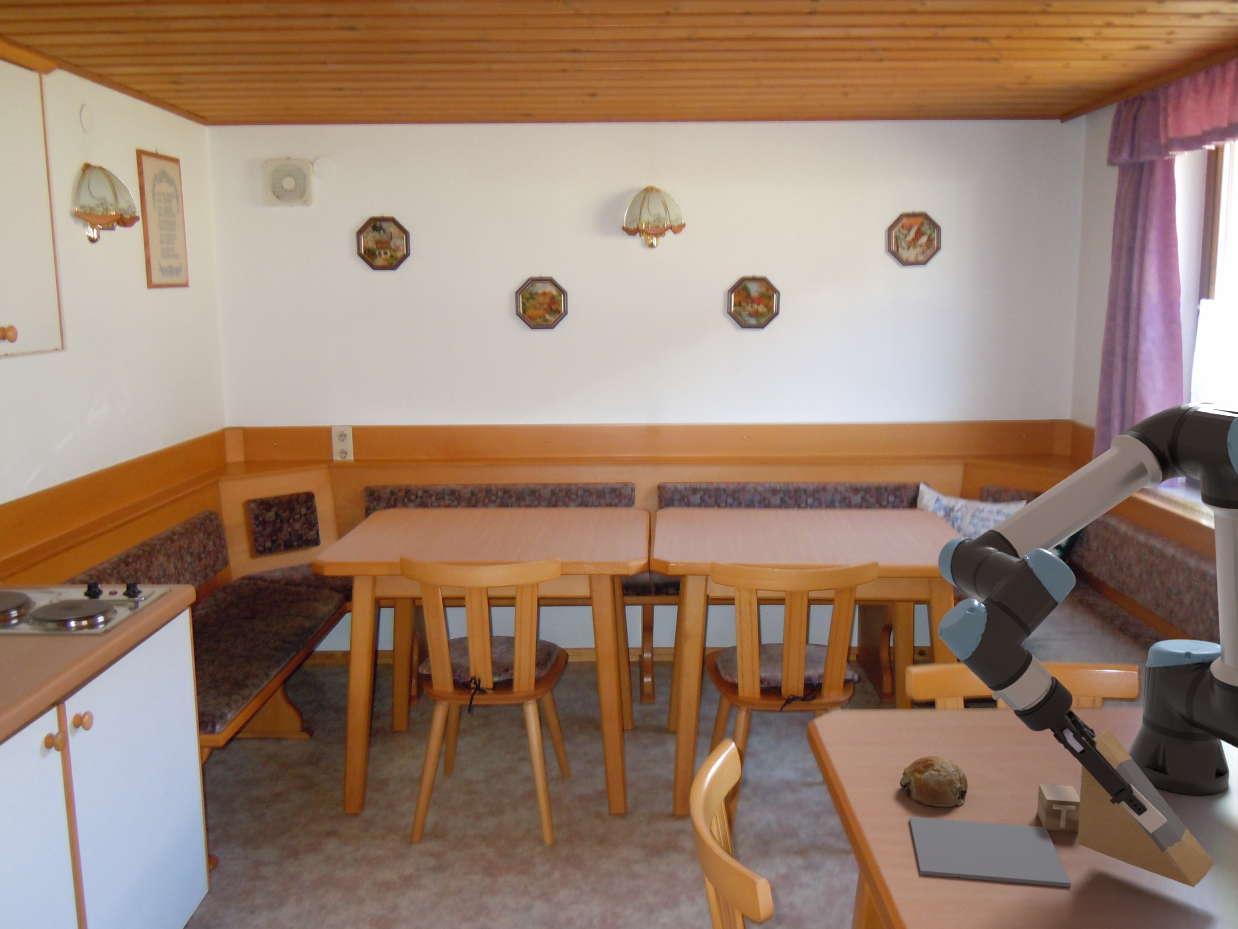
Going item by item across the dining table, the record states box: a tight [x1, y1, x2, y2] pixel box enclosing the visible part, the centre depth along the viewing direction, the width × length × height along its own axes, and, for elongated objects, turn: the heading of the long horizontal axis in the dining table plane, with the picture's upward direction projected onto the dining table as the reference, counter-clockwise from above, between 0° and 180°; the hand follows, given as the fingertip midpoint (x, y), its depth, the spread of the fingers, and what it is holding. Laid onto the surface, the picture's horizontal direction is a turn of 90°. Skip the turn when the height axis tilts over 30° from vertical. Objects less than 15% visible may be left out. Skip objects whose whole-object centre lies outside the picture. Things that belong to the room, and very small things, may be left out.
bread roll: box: [899, 755, 969, 808], centre depth 168 cm, size 10×10×8 cm
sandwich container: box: [1077, 727, 1215, 888], centre depth 141 cm, size 9×15×15 cm, turn 44°
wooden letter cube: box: [1036, 783, 1080, 833], centre depth 159 cm, size 5×5×5 cm
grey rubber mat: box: [909, 816, 1072, 888], centre depth 151 cm, size 20×15×1 cm
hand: (1143, 803), depth 143 cm, fingers closed on sandwich container, 12 cm apart
